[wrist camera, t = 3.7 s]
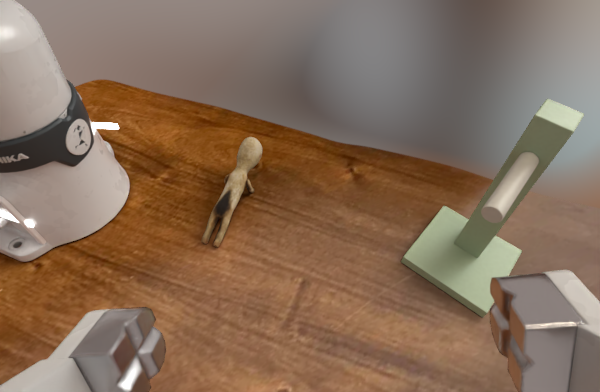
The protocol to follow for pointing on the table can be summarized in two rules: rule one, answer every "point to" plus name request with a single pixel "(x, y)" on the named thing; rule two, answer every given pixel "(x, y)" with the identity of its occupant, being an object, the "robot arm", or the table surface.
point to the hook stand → (490, 217)
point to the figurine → (233, 189)
